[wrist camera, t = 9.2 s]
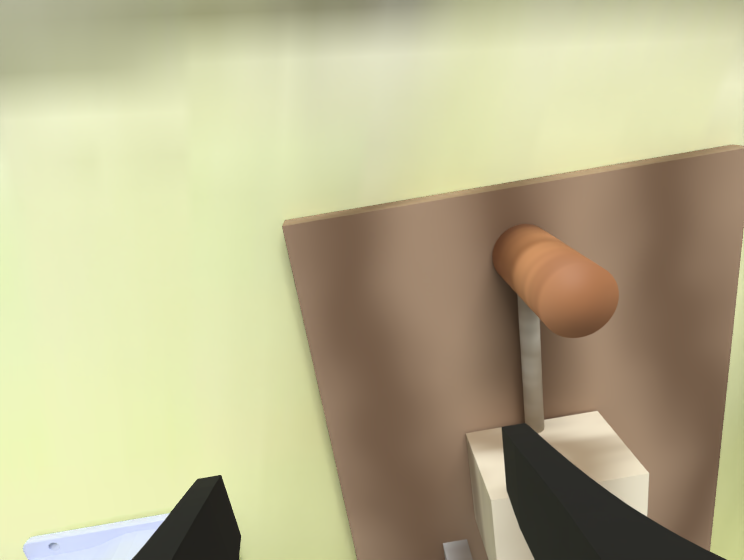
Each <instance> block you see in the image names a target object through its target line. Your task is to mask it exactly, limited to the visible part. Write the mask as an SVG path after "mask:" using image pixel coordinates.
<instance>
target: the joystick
mask: <svg viewBox="0 0 744 560" xmlns="http://www.w3.org/2000/svg"><path fill="white" fill-rule="evenodd" d="M492 261H493V265H494V267H495V270H496V271H497V273H498V274H499V275H500V276H501V277H502V278H503V279H504V280H505V281H506V282H507V284H508V285H509V286H510V287H511V288H512V289H513V290H514V291H515V292H516V293H517V298H518V314H519V331H520V347H521V364H522V380H523V397H524V413H525V423H526V424H527V425H529V426H530V427H531V428H532V429H533V430H534V431H536V432H537V433H538V434H539V435H540V436H541V437H542V438H543V439H545V440H546V441H547V442H548V443H549V444H550V445H551V446H553V447H554V448H555V449H556V450H557V451H558V452H560V453H561V454H562V455H563V456H564V457H566V458H567V459H568V460H569V461H570V462H572V463H573V464H574V465H575V466H577V467H578V468H579V469H580V470H582V471H583V472H584V473H585V474H587V475H588V476H589V477H590V478H592V479H593V480H594V481H596V482H597V483H598V484H600V485H601V486H602V487H604V488H605V489H607V490H608V491H609V492H611V493H612V494H614V495H615V496H616V497H618V498H619V499H621V500H622V501H623V502H625V503H626V504H628V505H629V506H631V507H632V508H634V509H635V510H637V511H639V512H640V513H642V514H644V515H645V516H647V509H648V487H649V472H648V471H647V470H646V469H645V468H644V466H643V465H642V464H641V463H640V462H639V460H638V459H637V458H636V457H635V456H634V454H633V453H632V452H631V451H630V450H629V448H628V447H627V446H626V445H625V444H624V442H623V441H622V440H621V439H620V438H619V436H618V435H617V434H616V433H615V431H614V430H613V429H612V428H611V427H610V425H609V424H608V423H607V422H606V421H605V419H604V418H603V417H602V416H601V415H600V413H599V412H598V411H593V412H587V413H581V414H575V415H569V416H564V417H558V418H552V419H546V420H544V409H543V386H542V364H541V341H540V320H541V321H542V322H543V323H544V324H545V325H546V326H547V327H548V328H549V329H550V330H551V331H552V332H553V333H555V334H557V335H559V336H562V337H566V338H580V337H585V336H588V335H590V334H593V333H595V332H596V331H598V330H599V329H601V328H602V327H603V326H604V325H605V324H606V323H607V322H608V321H609V320H610V319H611V317H612V316H613V314H614V312H615V310H616V308H617V305H618V301H619V290H618V285H617V283H616V281H615V279H614V277H613V276H612V275H611V274H610V273H609V272H608V271H607V270H605V269H604V268H602V267H601V266H599V265H598V264H596V263H595V262H593V261H591V260H590V259H588V258H587V257H585V256H584V255H582V254H580V253H579V252H577V251H576V250H574V249H573V248H571V247H570V246H568V245H566V244H565V243H563V242H562V241H560V240H559V239H557V238H555V237H554V236H552V235H551V234H549V233H548V232H546V231H544V230H543V229H541V228H540V227H538V226H535V225H532V224H520V225H516V226H513V227H511V228H509V229H508V230H506V231H505V232H504V233H503V234H502V235H501V236H500V237H499V238H498V240H497V241H496V243H495V245H494V248H493V253H492ZM466 441H467V450H468V459H469V468H470V477H471V486H472V495H473V504H474V513H475V520H476V523H477V526H478V529H479V532H480V535H481V538H482V541H483V544H484V547H485V550H486V553H487V556H488V560H535V559H534V557H533V555H532V553H531V551H530V549H529V547H528V545H527V543H526V541H525V539H524V536H523V534H522V532H521V530H520V527H519V525H518V522H517V519H516V516H515V514H514V511H513V508H512V505H511V502H510V499H509V496H508V493H507V490H506V478H505V465H504V453H503V441H502V428H501V427H499V428H494V429H488V430H482V431H476V432H470V433H466Z"/></svg>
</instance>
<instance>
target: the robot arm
mask: <svg viewBox="0 0 744 560" xmlns="http://www.w3.org/2000/svg"><path fill="white" fill-rule="evenodd" d="M501 428H502V441H503V453H504V465H505V478H506V490H507V493H508V496H509V499H510V502H511V505H512V508H513V511H514V514H515V516H516V519H517V522H518V525H519V527H520V530H521V532H522V534H523V536H524V539H525V541H526V543H527V545H528V547H529V549H530V551H531V553H532V555H533V557H534V559H535V560H726V559H724V558H722V557H720V556H718V555H716V554H714V553H712V552H710V551H708V550H706V549H704V548H702V547H700V546H698V545H696V544H694V543H692V542H691V541H689V540H687V539H685V538H683V537H681V536H679V535H677V534H676V533H674V532H672V531H670V530H669V529H667V528H665V527H663V526H662V525H660V524H658V523H657V522H655V521H653V520H652V519H650V518H648V517H647V516H645V515H644V514H642V513H640V512H639V511H637V510H635V509H634V508H632V507H631V506H629V505H628V504H626V503H625V502H623V501H622V500H621V499H619V498H618V497H616V496H615V495H614V494H612V493H611V492H609V491H608V490H607V489H605V488H604V487H602V486H601V485H600V484H598V483H597V482H596V481H594V480H593V479H592V478H590V477H589V476H588V475H587V474H585V473H584V472H583V471H582V470H580V469H579V468H578V467H577V466H575V465H574V464H573V463H572V462H570V461H569V460H568V459H567V458H566V457H564V456H563V455H562V454H561V453H560V452H558V451H557V450H556V449H555V448H554V447H553V446H551V445H550V444H549V443H548V442H547V441H546V440H545V439H543V438H542V437H541V436H540V435H539V434H538V433H537V432H536V431H534V430H533V429H532V428H531V427H530V426H529V425H527V424H526V423H522V424H516V425H510V426H504V427H501ZM240 541H241V534H240V531H239V528H238V525H237V522H236V519H235V516H234V513H233V510H232V507H231V504H230V501H229V498H228V495H227V492H226V489H225V485H224V482H223V479H222V476H221V475H218V476H212V477H207V478H201V479H197V480H196V481H195V483H194V484H193V485H192V486H191V487H190V489H189V490H188V491H187V492H186V494H185V495H184V496H183V497H182V499H181V500H180V501H179V502H178V504H177V505H176V506H175V508H174V509H173V510H172V511H171V513H168V514H162V515H156V516H150V517H144V518H139V519H133V520H127V521H121V522H115V523H109V524H104V525H98V526H92V527H86V528H80V529H74V530H69V531H63V532H57V533H51V534H45V535H40V536H34V537H31V538H29V539H28V540H27V541H26V543H25V544H24V546H23V551H24V553H25V555H26V557H27V559H28V560H239V551H240ZM56 543H57V544H56Z"/></svg>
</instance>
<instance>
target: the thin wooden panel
mask: <svg viewBox="0 0 744 560" xmlns="http://www.w3.org/2000/svg"><path fill="white" fill-rule="evenodd" d="M520 224H532V225H535V226H538V227H540V228H541V229H543V230H544V231H546V232H548V233H549V234H551V235H552V236H554V237H555V238H557V239H559V240H560V241H562V242H563V243H565V244H566V245H568V246H570V247H571V248H573V249H574V250H576V251H577V252H579V253H580V254H582V255H584V256H585V257H587V258H588V259H590V260H591V261H593V262H595V263H596V264H598V265H599V266H601V267H602V268H604V269H605V270H607V271H608V272H609V273H610V274H611V275H612V276H613V277H614V279H615V281H616V283H617V285H618V290H619V301H618V305H617V308H616V310H615V312H614V314H613V316H612V317H611V319H610V320H609V321H608V322H607V323H606V324H605V325H604V326H603V327H602V328H601V329H599V330H598V331H596V332H595V333H593V334H590V335H588V336H585V337H580V338H566V337H562V336H559V335H557V334H555V333H553V332H552V331H551V330H550V329H549V328H548V327H547V326H546V325H545V324H544V323H543V322H542V321H541V320H540V341H541V364H542V386H543V409H544V420H546V419H552V418H558V417H564V416H569V415H575V414H581V413H587V412H593V411H598V412H599V413H600V415H601V416H602V417H603V418H604V419H605V421H606V422H607V423H608V424H609V425H610V427H611V428H612V429H613V430H614V431H615V433H616V434H617V435H618V436H619V438H620V439H621V440H622V441H623V442H624V444H625V445H626V446H627V447H628V448H629V450H630V451H631V452H632V453H633V454H634V456H635V457H636V458H637V459H638V460H639V462H640V463H641V464H642V465H643V466H644V468H645V469H646V470H647V471H648V472H649V487H648V509H647V517H648V518H650V519H652V520H653V521H655V522H657V523H658V524H660V525H662V526H663V527H665V528H667V529H669V530H670V531H672V532H674V533H676V534H677V535H679V536H681V537H683V538H685V539H687V540H689V541H691V542H692V543H694V544H696V545H698V546H700V547H702V548H704V549H706V550H708V551H710V544H711V535H712V525H713V516H714V506H715V497H716V487H717V477H718V468H719V458H720V449H721V439H722V430H723V420H724V411H725V401H726V391H727V382H728V372H729V363H730V353H731V344H732V334H733V325H734V315H735V305H736V296H737V286H738V277H739V267H740V258H741V248H742V239H743V229H744V146H740V145H728V146H722V147H716V148H710V149H704V150H698V151H692V152H686V153H680V154H675V155H669V156H663V157H657V158H651V159H645V160H639V161H633V162H627V163H621V164H615V165H609V166H604V167H598V168H592V169H586V170H580V171H574V172H568V173H562V174H556V175H550V176H544V177H538V178H533V179H527V180H521V181H515V182H509V183H503V184H497V185H491V186H485V187H479V188H473V189H467V190H462V191H456V192H450V193H444V194H438V195H432V196H426V197H420V198H414V199H408V200H402V201H396V202H391V203H385V204H379V205H373V206H367V207H361V208H355V209H349V210H343V211H337V212H331V213H325V214H320V215H314V216H308V217H302V218H296V219H290V220H285V221H284V224H283V226H282V228H283V232H284V237H285V241H286V245H287V250H288V254H289V259H290V263H291V268H292V272H293V276H294V281H295V285H296V290H297V294H298V299H299V303H300V307H301V312H302V316H303V321H304V325H305V330H306V334H307V338H308V343H309V347H310V352H311V356H312V361H313V365H314V369H315V374H316V378H317V383H318V387H319V392H320V396H321V400H322V405H323V409H324V414H325V418H326V423H327V427H328V431H329V436H330V440H331V445H332V449H333V454H334V458H335V462H336V467H337V471H338V476H339V480H340V485H341V489H342V493H343V498H344V502H345V507H346V511H347V516H348V520H349V524H350V529H351V533H352V538H353V542H354V547H355V551H356V556H357V560H488V556H487V553H486V550H485V547H484V544H483V541H482V538H481V535H480V532H479V529H478V526H477V523H476V520H475V513H474V504H473V495H472V486H471V477H470V468H469V459H468V450H467V441H466V433H470V432H476V431H482V430H488V429H494V428H499V427H504V426H510V425H516V424H522V423H525V413H524V397H523V380H522V364H521V347H520V331H519V314H518V298H517V293H516V292H515V291H514V290H513V289H512V288H511V287H510V286H509V285H508V284H507V282H506V281H505V280H504V279H503V278H502V277H501V276H500V275H499V274H498V273H497V271H496V270H495V267H494V265H493V261H492V253H493V248H494V245H495V243H496V241H497V240H498V238H499V237H500V236H501V235H502V234H503V233H504V232H505V231H506V230H508V229H509V228H511V227H513V226H516V225H520Z"/></svg>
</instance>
